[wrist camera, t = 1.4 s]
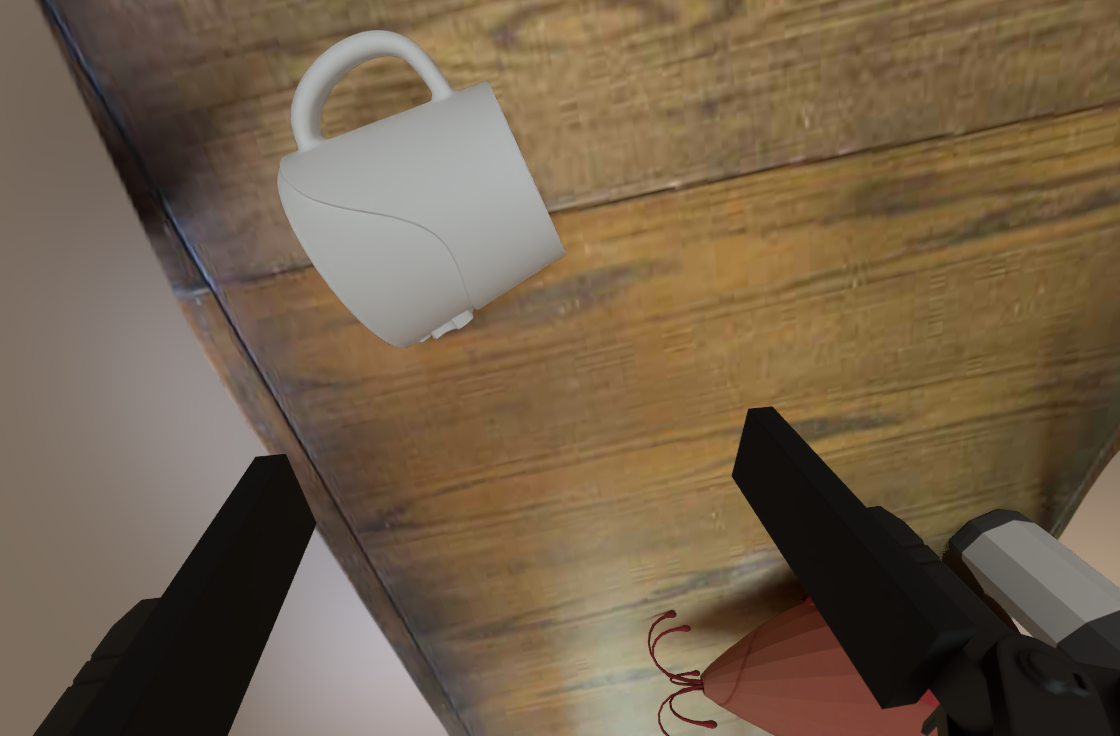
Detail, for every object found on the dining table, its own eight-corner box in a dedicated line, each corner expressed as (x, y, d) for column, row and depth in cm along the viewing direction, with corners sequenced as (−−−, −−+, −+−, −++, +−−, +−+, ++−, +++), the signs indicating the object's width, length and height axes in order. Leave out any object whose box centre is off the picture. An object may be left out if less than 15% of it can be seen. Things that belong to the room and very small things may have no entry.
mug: (560, 244, 26) (584, 292, 19) (422, 312, 27) (399, 381, 20) (452, 5, 20) (432, -47, 13) (279, 104, 21) (178, 103, 14)
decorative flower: (886, 515, 52) (630, 538, 53) (1132, 624, 29) (669, 660, 30) (910, 706, 51) (650, 724, 52) (1181, 974, 28) (705, 995, 29)
